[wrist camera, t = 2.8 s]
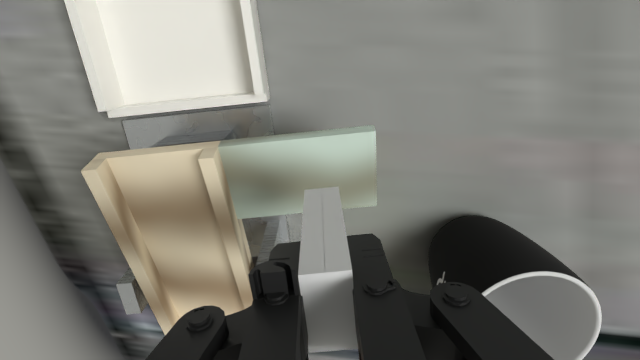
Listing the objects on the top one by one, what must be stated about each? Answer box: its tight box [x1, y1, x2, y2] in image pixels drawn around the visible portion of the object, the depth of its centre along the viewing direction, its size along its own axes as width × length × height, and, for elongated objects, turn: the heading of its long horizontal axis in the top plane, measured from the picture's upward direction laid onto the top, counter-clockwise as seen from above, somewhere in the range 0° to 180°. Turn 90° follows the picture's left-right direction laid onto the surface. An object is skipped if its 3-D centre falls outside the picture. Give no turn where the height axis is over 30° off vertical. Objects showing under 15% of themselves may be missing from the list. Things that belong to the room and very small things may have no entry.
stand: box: [116, 104, 290, 314], centre depth 28 cm, size 21×11×8 cm, turn 6°
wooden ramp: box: [81, 125, 377, 335], centre depth 25 cm, size 20×16×4 cm
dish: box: [64, 0, 270, 118], centre depth 24 cm, size 11×11×4 cm
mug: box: [429, 216, 602, 360], centre depth 28 cm, size 12×9×10 cm
